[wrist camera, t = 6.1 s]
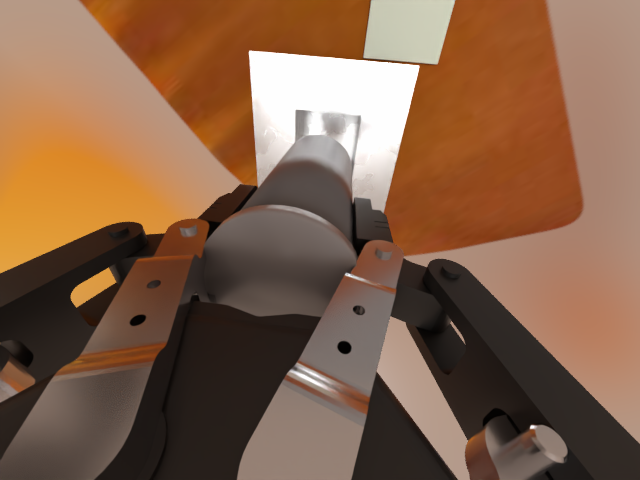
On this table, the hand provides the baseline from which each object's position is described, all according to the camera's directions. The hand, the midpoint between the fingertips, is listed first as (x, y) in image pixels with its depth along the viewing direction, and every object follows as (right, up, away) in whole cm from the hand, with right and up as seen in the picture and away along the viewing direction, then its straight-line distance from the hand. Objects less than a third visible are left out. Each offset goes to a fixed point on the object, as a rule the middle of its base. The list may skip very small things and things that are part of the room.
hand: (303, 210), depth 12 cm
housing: (+2, +11, +16) cm, 20 cm away
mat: (+9, +19, +10) cm, 23 cm away
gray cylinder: (+1, +3, +5) cm, 6 cm away
